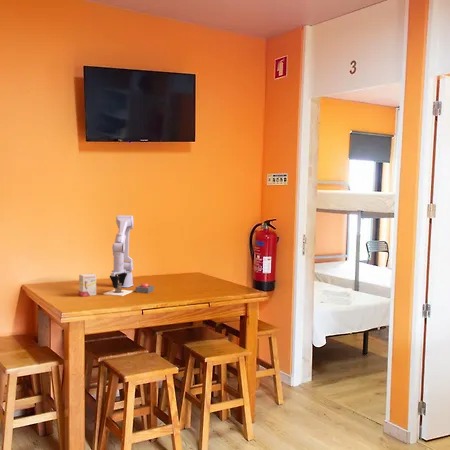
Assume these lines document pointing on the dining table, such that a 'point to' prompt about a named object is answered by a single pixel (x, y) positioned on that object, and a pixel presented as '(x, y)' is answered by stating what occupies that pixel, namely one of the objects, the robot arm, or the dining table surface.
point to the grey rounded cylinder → (118, 288)
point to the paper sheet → (122, 293)
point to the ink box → (87, 285)
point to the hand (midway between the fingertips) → (118, 286)
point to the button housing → (144, 289)
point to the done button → (144, 285)
